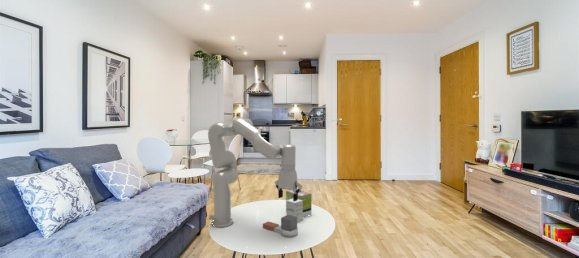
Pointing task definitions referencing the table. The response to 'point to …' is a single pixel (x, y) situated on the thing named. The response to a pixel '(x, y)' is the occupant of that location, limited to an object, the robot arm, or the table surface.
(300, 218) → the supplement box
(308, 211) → the tea box
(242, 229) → the table surface
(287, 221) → the brushed grey cube
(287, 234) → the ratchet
